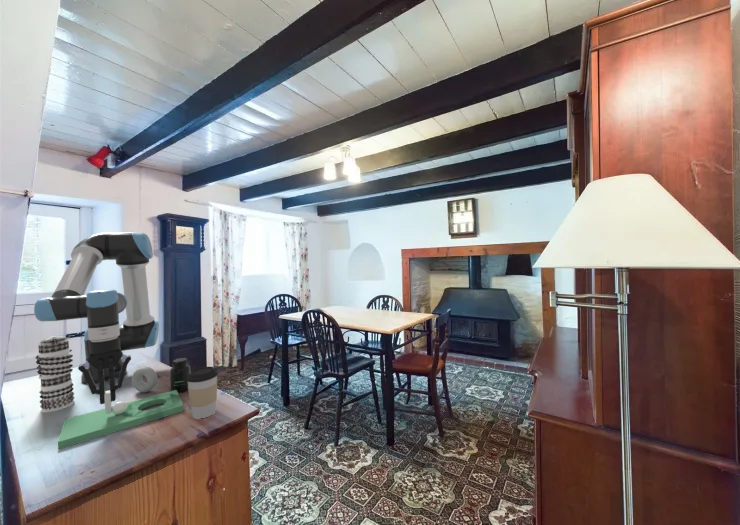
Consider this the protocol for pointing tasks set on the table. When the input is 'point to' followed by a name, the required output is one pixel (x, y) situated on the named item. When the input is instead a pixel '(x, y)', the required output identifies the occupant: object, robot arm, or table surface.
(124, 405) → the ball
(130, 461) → the table surface
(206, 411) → the coffee cup
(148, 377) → the donut
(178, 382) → the supplement bottle
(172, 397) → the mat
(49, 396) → the decorative candle
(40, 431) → the table surface
